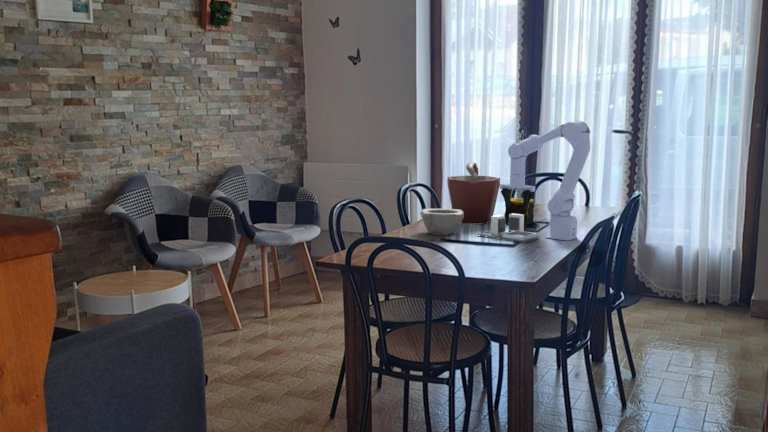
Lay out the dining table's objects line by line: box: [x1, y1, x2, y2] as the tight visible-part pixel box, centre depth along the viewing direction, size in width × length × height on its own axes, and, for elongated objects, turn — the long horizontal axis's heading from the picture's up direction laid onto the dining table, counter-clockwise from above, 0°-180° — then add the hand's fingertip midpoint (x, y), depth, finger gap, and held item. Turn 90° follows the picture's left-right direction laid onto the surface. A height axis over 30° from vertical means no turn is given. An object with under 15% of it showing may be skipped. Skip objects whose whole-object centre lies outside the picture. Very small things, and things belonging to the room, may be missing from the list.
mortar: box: [420, 208, 464, 236], centre depth 278 cm, size 17×17×9 cm
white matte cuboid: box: [508, 213, 525, 232], centre depth 281 cm, size 4×5×7 cm
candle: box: [504, 197, 535, 226], centre depth 302 cm, size 10×10×10 cm
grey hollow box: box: [477, 214, 539, 243], centre depth 271 cm, size 20×11×8 cm, turn 51°
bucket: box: [446, 162, 501, 225], centre depth 306 cm, size 24×22×25 cm
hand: (516, 208), depth 281 cm, fingers open, 7 cm apart
